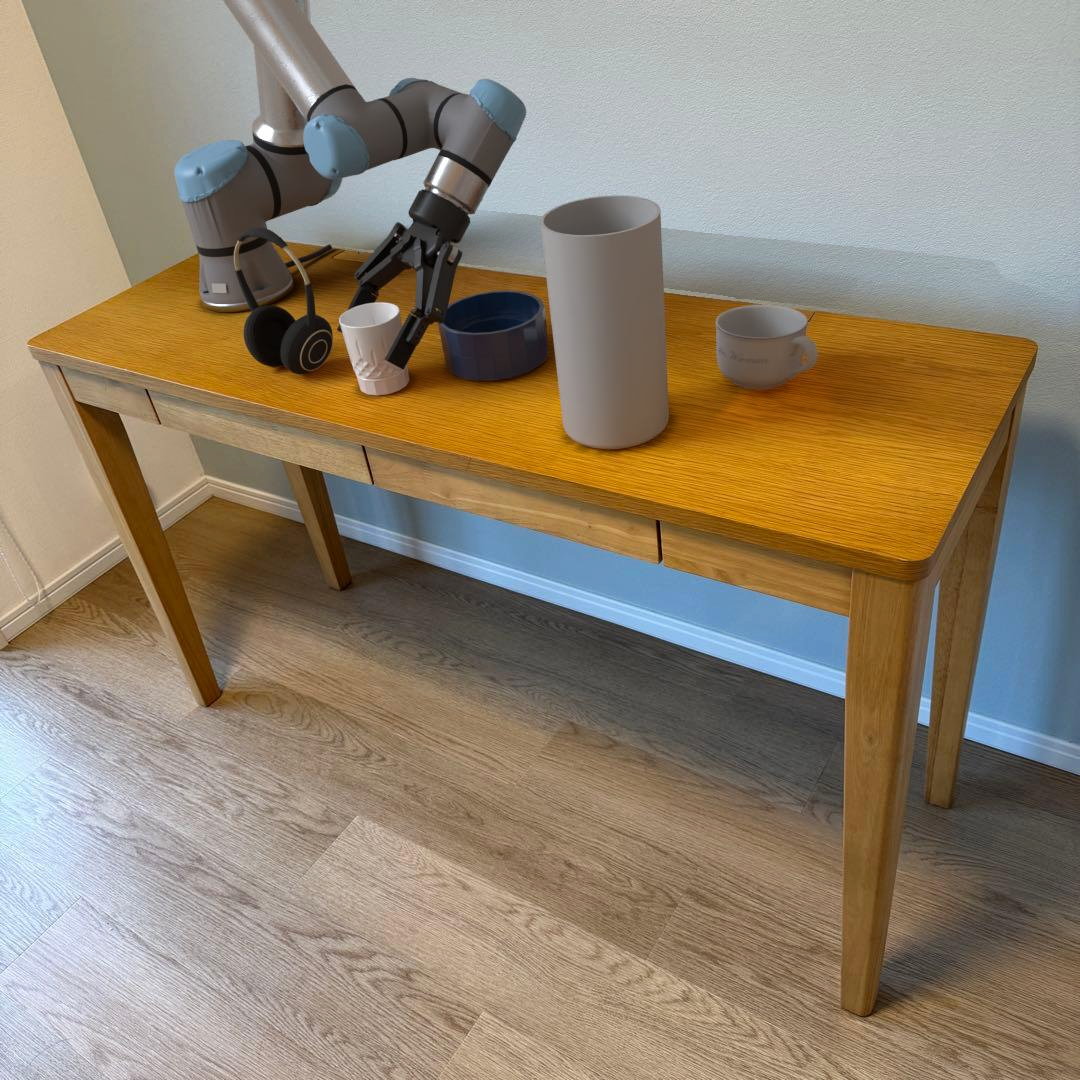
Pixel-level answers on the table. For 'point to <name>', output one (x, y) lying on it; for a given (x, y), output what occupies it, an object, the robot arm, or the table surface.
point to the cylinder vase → (608, 318)
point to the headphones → (284, 323)
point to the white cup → (374, 346)
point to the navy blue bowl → (494, 335)
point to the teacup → (763, 345)
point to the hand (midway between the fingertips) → (368, 349)
